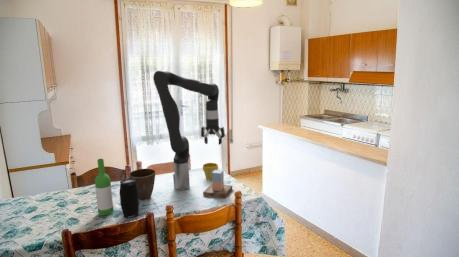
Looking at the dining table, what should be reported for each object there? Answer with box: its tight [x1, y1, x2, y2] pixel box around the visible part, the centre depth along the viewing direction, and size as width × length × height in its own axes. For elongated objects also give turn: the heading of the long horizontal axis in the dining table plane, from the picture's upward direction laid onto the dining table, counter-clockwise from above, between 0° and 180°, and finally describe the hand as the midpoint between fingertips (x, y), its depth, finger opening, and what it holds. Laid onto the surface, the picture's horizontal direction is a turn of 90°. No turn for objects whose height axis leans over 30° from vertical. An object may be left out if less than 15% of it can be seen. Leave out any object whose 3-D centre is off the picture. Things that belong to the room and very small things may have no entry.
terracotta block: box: [211, 178, 225, 191], centre depth 195 cm, size 6×6×6 cm
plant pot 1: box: [128, 168, 156, 202], centre depth 189 cm, size 15×15×16 cm
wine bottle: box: [94, 158, 114, 216], centre depth 170 cm, size 8×8×30 cm
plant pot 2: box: [202, 162, 219, 181], centre depth 220 cm, size 10×10×10 cm
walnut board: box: [202, 183, 233, 199], centre depth 196 cm, size 14×14×2 cm
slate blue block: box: [211, 169, 225, 182], centre depth 194 cm, size 6×6×6 cm
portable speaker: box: [119, 177, 140, 219], centre depth 167 cm, size 9×9×20 cm
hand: (213, 144), depth 193 cm, fingers open, 8 cm apart
